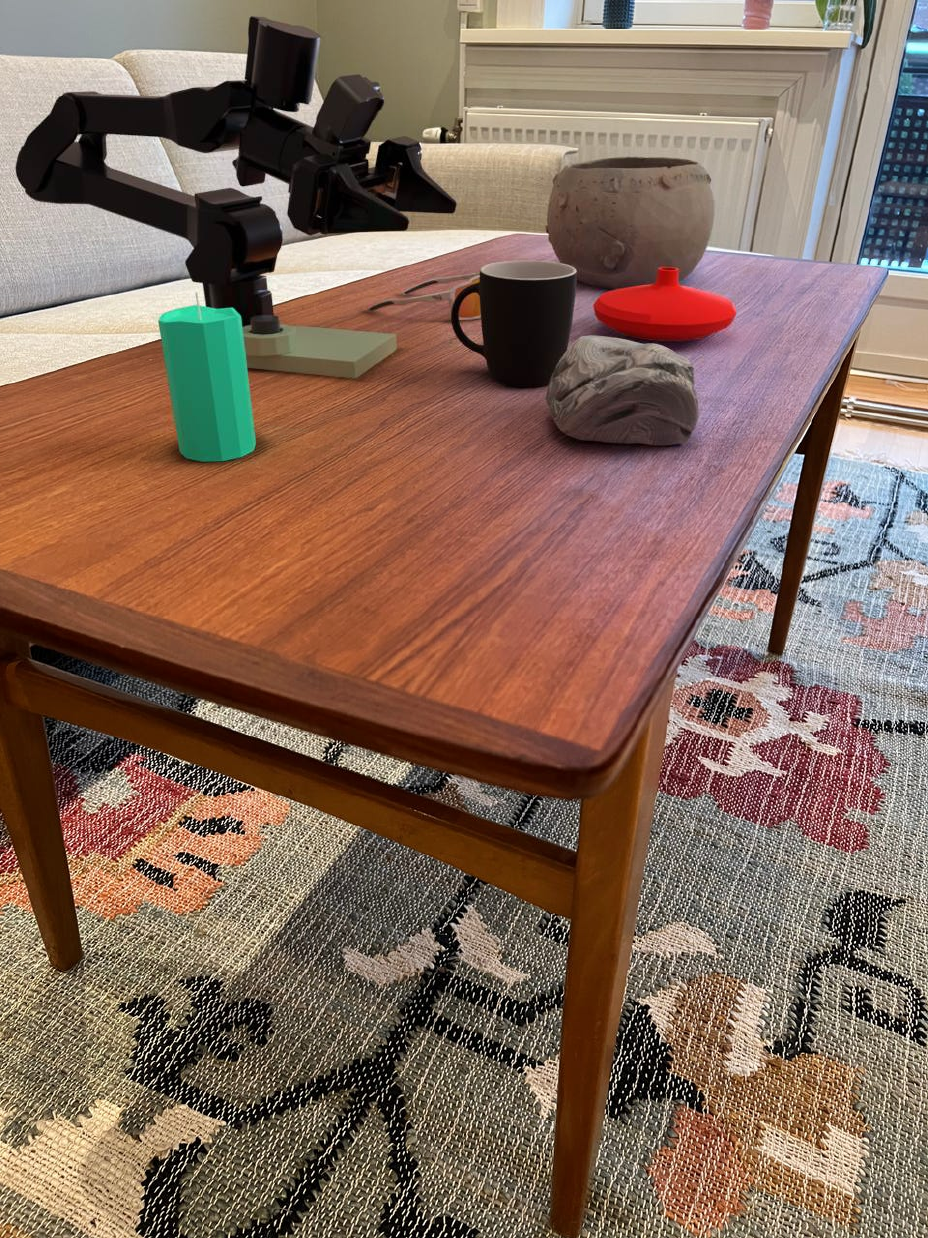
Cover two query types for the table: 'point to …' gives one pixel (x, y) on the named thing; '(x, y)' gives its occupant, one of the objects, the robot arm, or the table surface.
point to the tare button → (265, 324)
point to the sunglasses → (442, 296)
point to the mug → (522, 319)
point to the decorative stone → (623, 393)
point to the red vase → (664, 310)
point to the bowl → (630, 218)
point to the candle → (208, 382)
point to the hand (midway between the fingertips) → (432, 215)
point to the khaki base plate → (317, 350)
